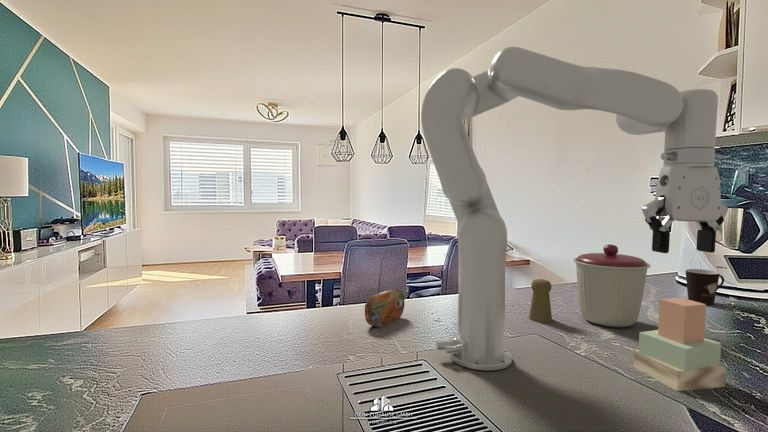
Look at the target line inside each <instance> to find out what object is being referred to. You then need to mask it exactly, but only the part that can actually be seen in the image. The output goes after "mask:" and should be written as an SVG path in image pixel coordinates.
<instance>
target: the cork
mask: <svg viewBox="0 0 768 432" xmlns="http://www.w3.org/2000/svg"><path fill="white" fill-rule="evenodd" d="M530 284H531V285H530V286H531V290H532V291H533V292H532V296H531V303H530V308H529V316H528V320H530V321H533V322H536V323H542V324H543V323H551V322H552V321H553V315H552V306H551V299H550V297H551V296H550V292H551V291H552V283H551V282H550V281H549V280H548V279H542V278H536V279H533V280H532V282H531V283H530Z"/></svg>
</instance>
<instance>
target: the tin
mask: <svg viewBox="0 0 768 432" xmlns="http://www.w3.org/2000/svg"><path fill="white" fill-rule="evenodd" d="M404 310H405V298H404V294H403V292H402V291H401V290H399V289H387V290H384V291H380V292H378V293H376V294H373V295H370V297H368V298H367V300H366V301H365V305H364V317H365V322H366V323H367V324H368V325H369V326H370V327H376V328H382V327H381V326H383V327H385V326H386V324H387V325H389V324H391V323H393V321H394V322H396V321H398V320H399V319H400V318H401V317H402V315H403V314H404ZM388 323H389V324H388ZM384 325H385V326H384Z"/></svg>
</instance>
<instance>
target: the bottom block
mask: <svg viewBox="0 0 768 432" xmlns="http://www.w3.org/2000/svg"><path fill="white" fill-rule="evenodd" d="M633 353H634V355H633V368H634V369H636V370H638V371H640V372H642V373H644V374H645V375H647V376H649V377H650V378H652V379H654V380H656V381H658V382H659V383H662V385H663V384H664V385H665V386H668V387H669V388H671V389H673V390H674V391H677V392H680V391H682V392H683V391H692V390H693V391H694V390H703V389H715V388H725V387H726V380H727V379H726V377H727V367H726V366H723V365H721V364H720V365H716V366H710V367H705V368H700V369H694V370H689V371H683V370H680V369H678V368H675V367H673V366H671V365H668V364H666V363H663V362H661V361H659V360H656V359H654V358H651V357H649V356H646V355H644V354H642V353H639V349H634V350H633Z"/></svg>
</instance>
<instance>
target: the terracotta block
mask: <svg viewBox="0 0 768 432" xmlns="http://www.w3.org/2000/svg"><path fill="white" fill-rule="evenodd" d="M706 308H707V305H706V304H703V303H699V302H695V301H691V300H688V298H683V297H669V298H660V299H659V307H658V309H659V310H658V328H657V330H658V335H660V336H663V337H665V338H668V339H671V340H673V341H676V342H679V343H681V344H688V343H697V342H704V338H705V329H706V328H705V327H706V313H707V310H706Z"/></svg>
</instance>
